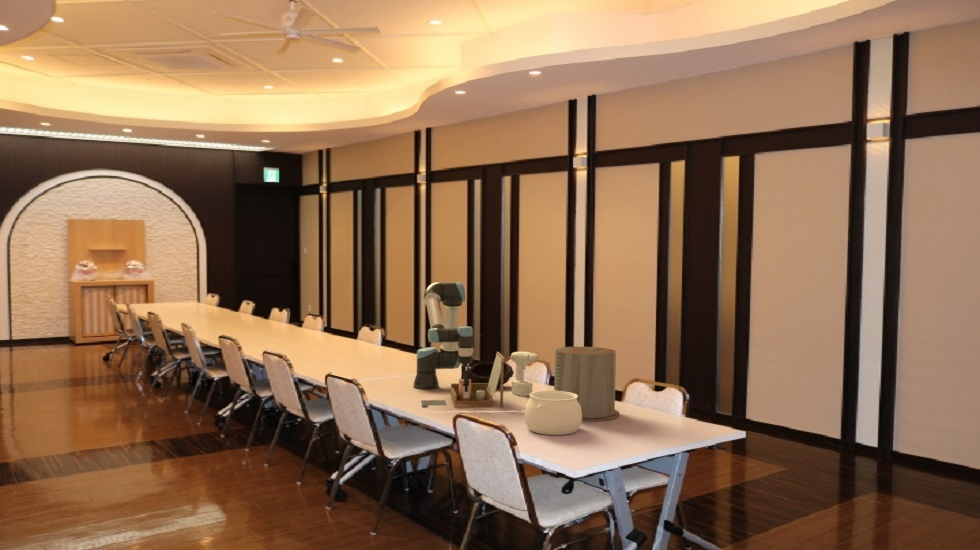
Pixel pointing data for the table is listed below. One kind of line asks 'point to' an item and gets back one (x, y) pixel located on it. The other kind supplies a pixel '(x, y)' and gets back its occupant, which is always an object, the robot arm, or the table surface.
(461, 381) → the terracotta pot
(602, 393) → the storage basket
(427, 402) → the slate tile
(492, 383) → the lid
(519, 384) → the power drill
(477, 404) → the cold frame
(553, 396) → the pot
